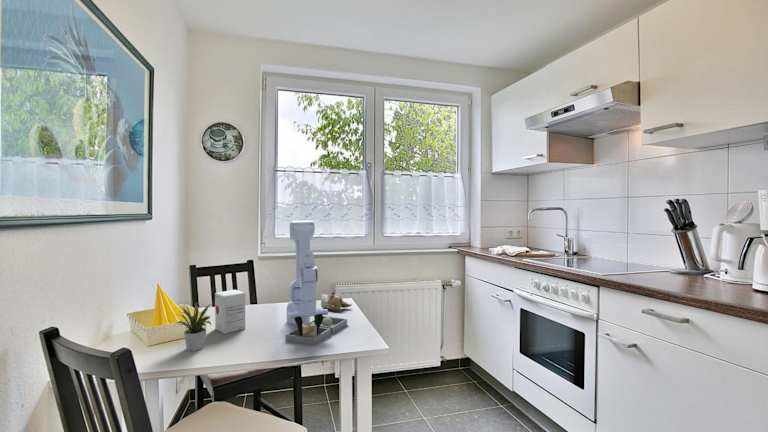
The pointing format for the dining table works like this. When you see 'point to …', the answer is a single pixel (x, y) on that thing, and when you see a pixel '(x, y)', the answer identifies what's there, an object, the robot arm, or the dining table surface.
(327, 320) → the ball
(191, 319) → the house plant
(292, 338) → the tray near
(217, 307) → the supplement box
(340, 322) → the tray far
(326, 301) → the ceramic sculpture
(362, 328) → the dining table surface
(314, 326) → the letter cube
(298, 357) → the dining table surface
